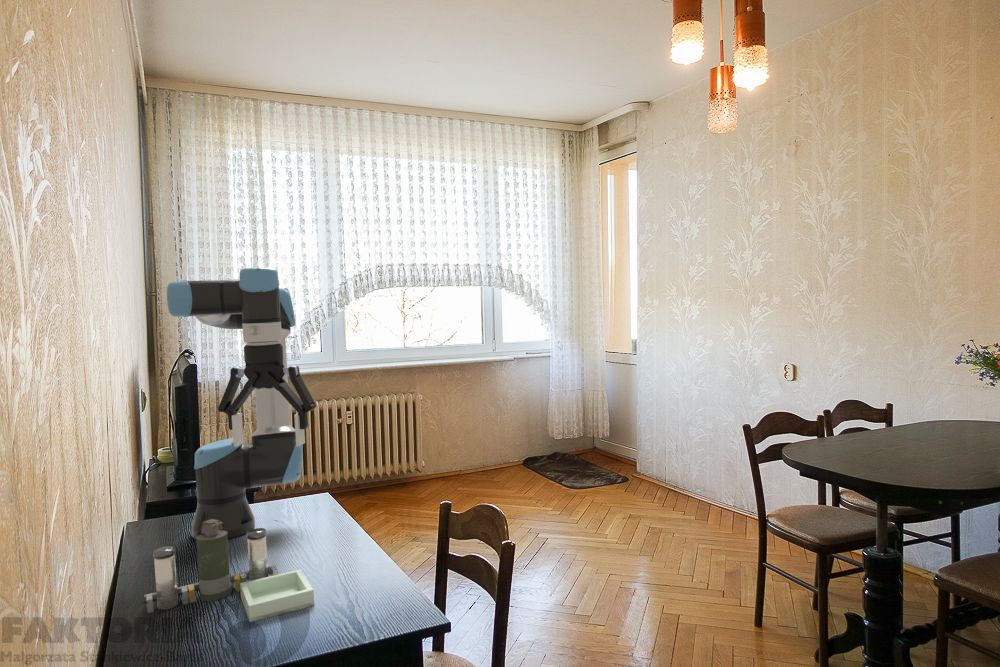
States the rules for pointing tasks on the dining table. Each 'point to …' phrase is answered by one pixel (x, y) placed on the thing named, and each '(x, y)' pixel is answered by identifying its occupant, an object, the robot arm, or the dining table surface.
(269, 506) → the dining table surface
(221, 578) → the grenade
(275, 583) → the tray
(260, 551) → the fuse rail
